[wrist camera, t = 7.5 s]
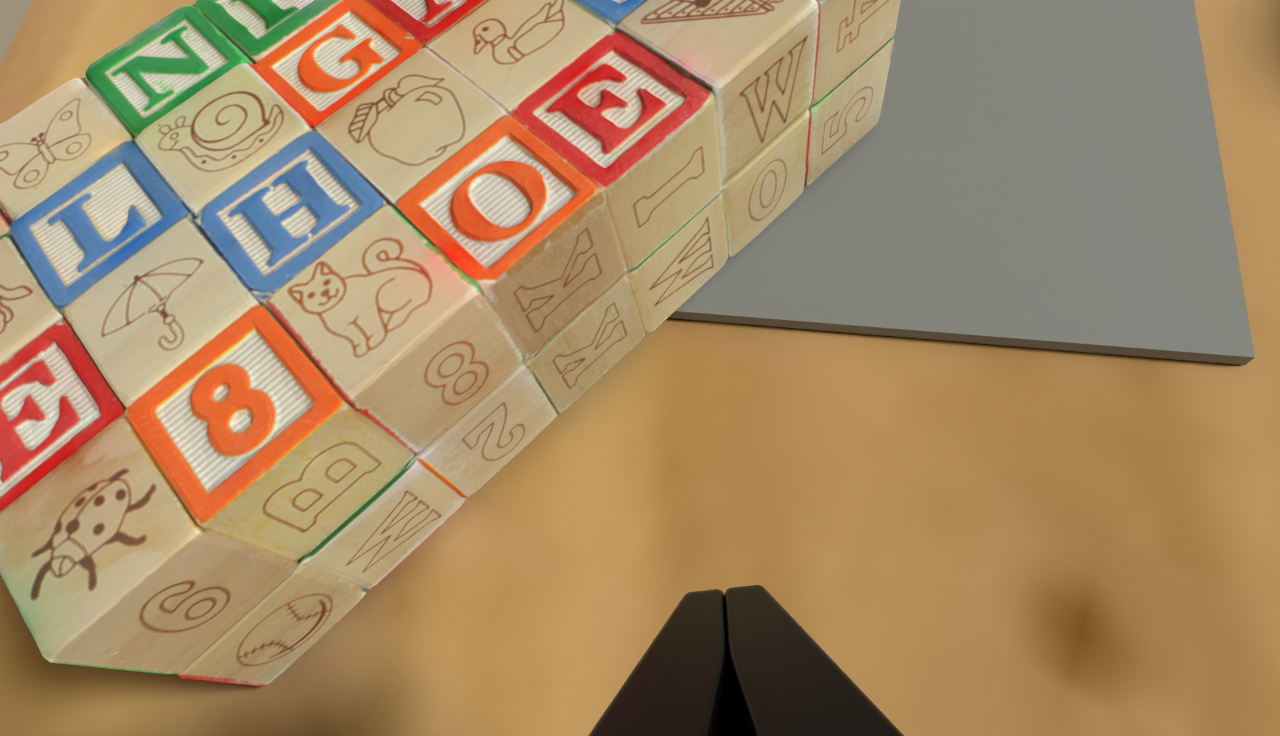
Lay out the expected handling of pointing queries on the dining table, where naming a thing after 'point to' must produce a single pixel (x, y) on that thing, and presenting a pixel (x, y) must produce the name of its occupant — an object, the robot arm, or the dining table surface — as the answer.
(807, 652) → the robot arm
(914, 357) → the dining table surface
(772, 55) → the stack of blocks
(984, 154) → the mat
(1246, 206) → the dining table surface
